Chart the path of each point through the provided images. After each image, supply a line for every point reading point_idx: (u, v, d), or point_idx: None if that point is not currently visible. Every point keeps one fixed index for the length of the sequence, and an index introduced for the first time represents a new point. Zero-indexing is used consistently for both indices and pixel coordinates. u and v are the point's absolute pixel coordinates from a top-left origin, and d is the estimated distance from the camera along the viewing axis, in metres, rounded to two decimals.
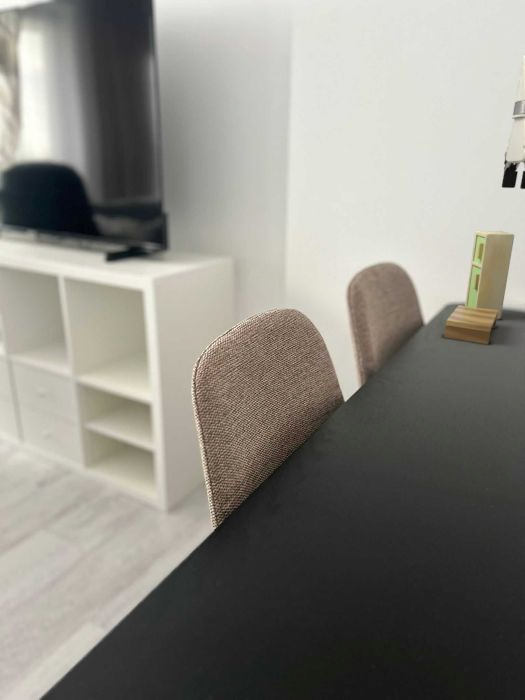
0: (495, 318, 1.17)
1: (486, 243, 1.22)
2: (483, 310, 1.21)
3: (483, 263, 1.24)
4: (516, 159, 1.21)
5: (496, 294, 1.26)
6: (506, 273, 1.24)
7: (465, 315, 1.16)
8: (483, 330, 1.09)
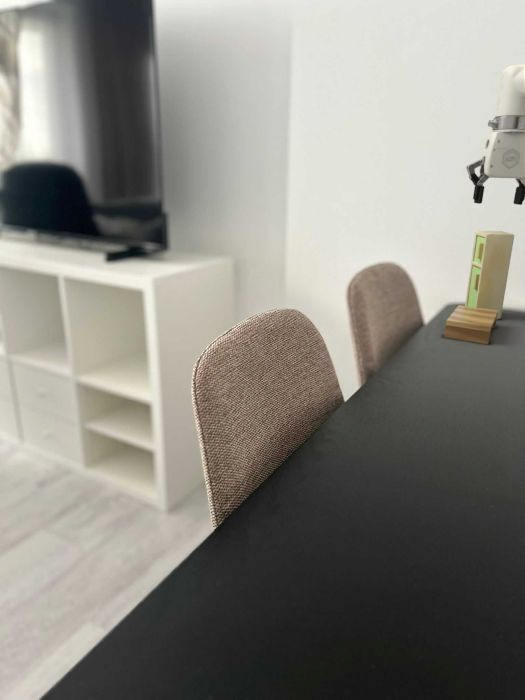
0: (495, 318, 1.17)
1: (486, 243, 1.22)
2: (483, 310, 1.21)
3: (483, 263, 1.24)
4: None
5: (496, 294, 1.26)
6: (506, 273, 1.24)
7: (465, 315, 1.16)
8: (483, 330, 1.09)
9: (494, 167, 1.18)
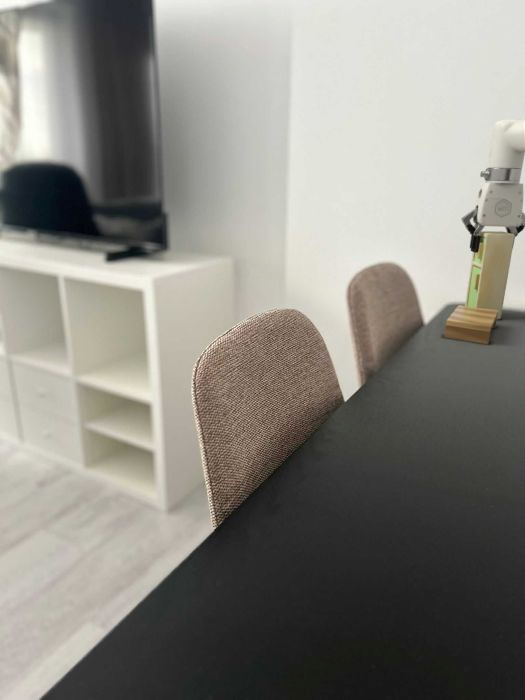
0: (495, 318, 1.17)
1: (486, 243, 1.22)
2: (483, 310, 1.21)
3: (483, 263, 1.24)
4: None
5: (496, 295, 1.26)
6: (506, 273, 1.24)
7: (465, 315, 1.16)
8: (483, 330, 1.09)
9: (487, 216, 1.21)
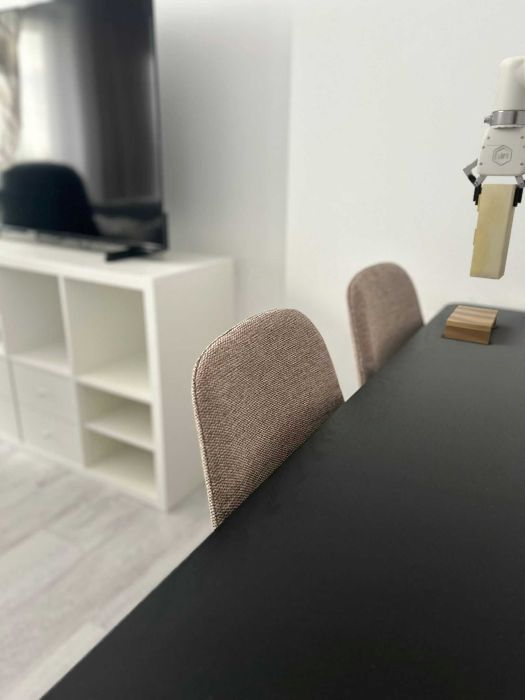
0: (495, 318, 1.17)
1: (482, 194, 1.15)
2: (483, 310, 1.21)
3: (478, 216, 1.16)
4: None
5: (493, 251, 1.17)
6: (505, 228, 1.14)
7: (465, 315, 1.16)
8: (483, 330, 1.09)
9: (484, 165, 1.14)
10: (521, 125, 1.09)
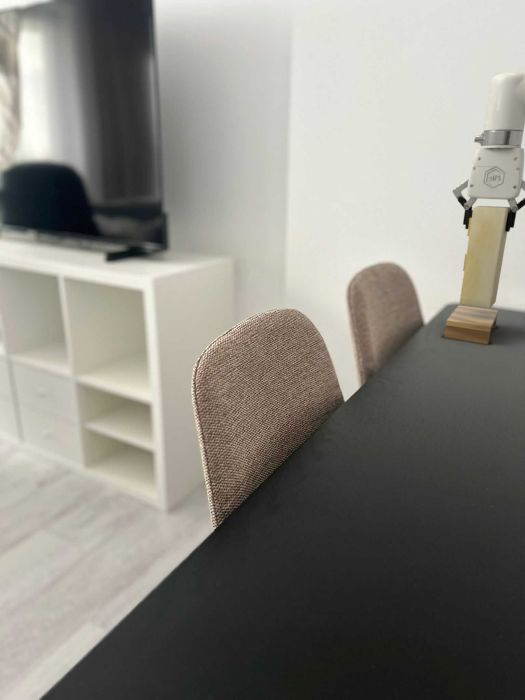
0: (495, 318, 1.17)
1: (472, 217, 1.08)
2: (483, 310, 1.21)
3: (469, 241, 1.09)
4: None
5: (485, 278, 1.10)
6: (497, 254, 1.07)
7: (465, 315, 1.16)
8: (483, 330, 1.09)
9: (475, 187, 1.07)
10: (514, 146, 1.02)
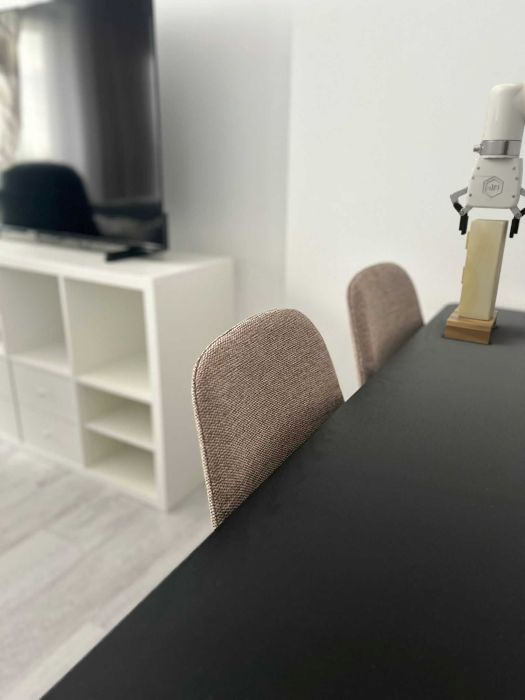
0: (495, 318, 1.17)
1: (470, 231, 1.09)
2: None
3: (467, 254, 1.10)
4: None
5: (483, 291, 1.10)
6: (494, 267, 1.08)
7: None
8: (483, 330, 1.09)
9: (474, 196, 1.07)
10: (513, 156, 1.02)
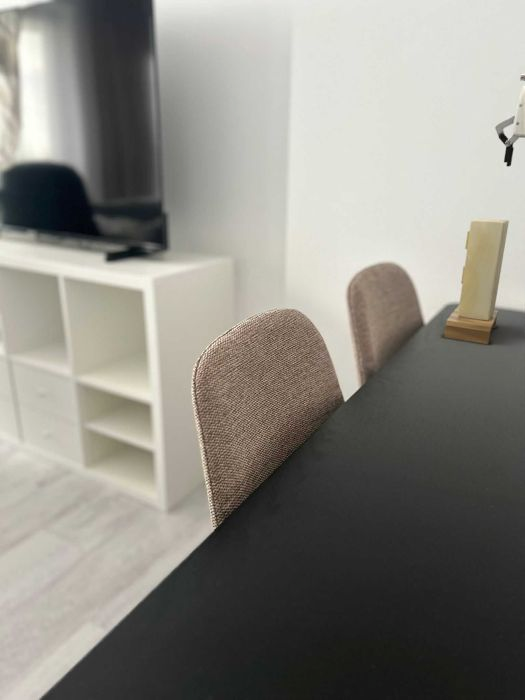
0: (495, 318, 1.17)
1: (470, 231, 1.09)
2: None
3: (467, 254, 1.10)
4: None
5: (483, 291, 1.10)
6: (494, 267, 1.08)
7: None
8: (483, 330, 1.09)
9: (521, 124, 1.07)
10: None
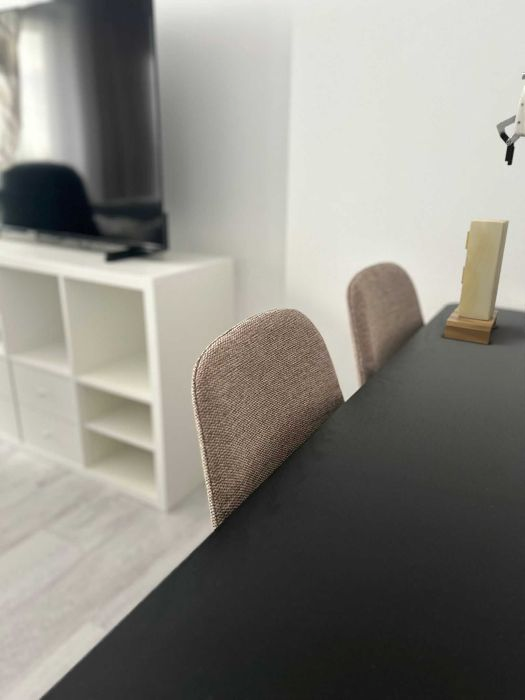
0: (495, 318, 1.17)
1: (470, 231, 1.09)
2: None
3: (467, 254, 1.10)
4: None
5: (483, 291, 1.10)
6: (494, 267, 1.08)
7: None
8: (483, 330, 1.09)
9: (522, 123, 1.07)
10: None
